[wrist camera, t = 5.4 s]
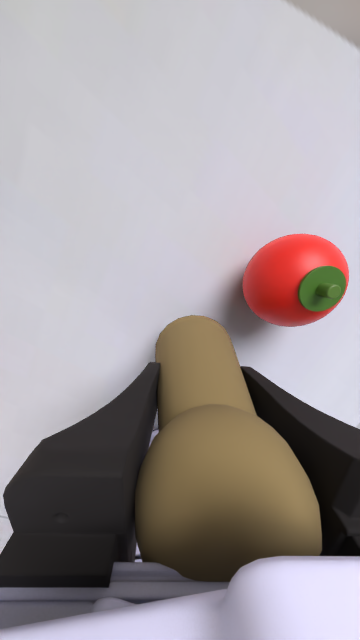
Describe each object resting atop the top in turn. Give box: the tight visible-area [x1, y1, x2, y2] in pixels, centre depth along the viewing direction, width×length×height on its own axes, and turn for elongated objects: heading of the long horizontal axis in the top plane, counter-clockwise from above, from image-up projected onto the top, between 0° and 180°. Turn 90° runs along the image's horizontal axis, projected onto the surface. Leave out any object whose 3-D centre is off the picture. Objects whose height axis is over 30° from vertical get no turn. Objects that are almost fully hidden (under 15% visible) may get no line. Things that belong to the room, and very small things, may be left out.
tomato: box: [243, 234, 349, 327], centre depth 12 cm, size 6×6×7 cm
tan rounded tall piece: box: [135, 315, 322, 582], centre depth 9 cm, size 6×6×11 cm
